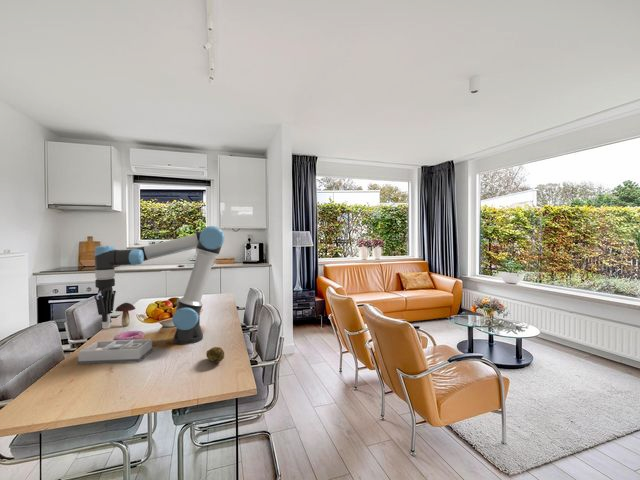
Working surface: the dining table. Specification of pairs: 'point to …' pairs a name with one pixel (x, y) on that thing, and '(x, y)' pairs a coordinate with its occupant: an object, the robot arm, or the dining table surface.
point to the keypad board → (114, 352)
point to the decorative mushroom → (125, 312)
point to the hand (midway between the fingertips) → (106, 327)
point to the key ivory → (135, 346)
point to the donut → (130, 335)
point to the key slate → (116, 346)
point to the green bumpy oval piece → (215, 354)
